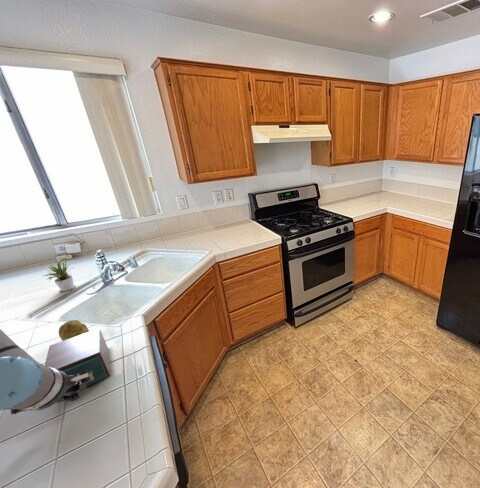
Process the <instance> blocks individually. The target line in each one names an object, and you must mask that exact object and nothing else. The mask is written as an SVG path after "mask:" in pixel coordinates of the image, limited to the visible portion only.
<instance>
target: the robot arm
mask: <svg viewBox="0 0 480 488" xmlns="http://www.w3.org/2000/svg"><path fill="white" fill-rule="evenodd" d="M89 380H90V376H89V372H88V370H84V371H82V372H81V373H80V374H77V377H75V376H73V375H71V376H68V375H67V374H65V373H64V372H62V371H60V370H57V369H55V368H51V367H48V366H45V364H42V363H39V362H38V361H37V360H36V359H34V357H32V356H31V355H30V354H29V353H28V352H26V350H25V349H23V348H21V347H20V346H19V345H17V343H16V342H15V341H14V340H12V339H11V338H10V337H9V335H7V334H6V333H5V332H4V331H3V330H2V329H1V328H0V411H7V410H8V411H9V410H10V414H11V415H16V414H19V413H22V412H27V411H42V410H45V409H48V408H49V407H51V406H53V405H55V404H56V403H60V402H62V401H67V402H68V401H69V402H74V401H76V400H78V399H80V398H81V397H80V393H81V392H83V391H85V390H86V389H87V386H86V384H87V382H88V381H89ZM76 382H77V383H78V384H76V385H75V383H76Z"/></svg>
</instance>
